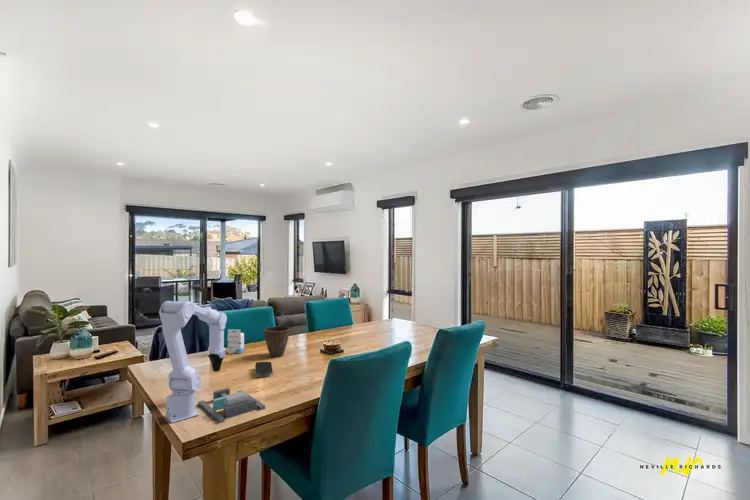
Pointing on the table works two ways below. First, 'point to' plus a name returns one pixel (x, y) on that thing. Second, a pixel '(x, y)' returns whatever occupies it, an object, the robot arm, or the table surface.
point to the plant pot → (276, 340)
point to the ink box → (235, 341)
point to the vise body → (232, 409)
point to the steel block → (235, 399)
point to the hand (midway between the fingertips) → (216, 371)
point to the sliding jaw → (219, 398)
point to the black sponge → (263, 369)
